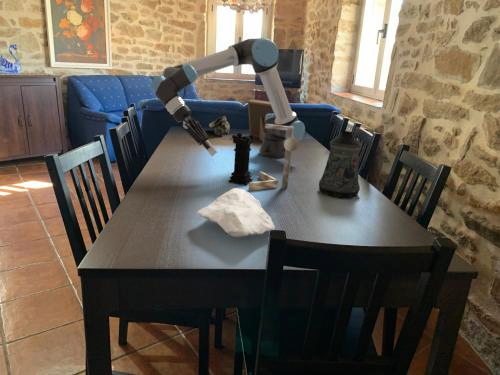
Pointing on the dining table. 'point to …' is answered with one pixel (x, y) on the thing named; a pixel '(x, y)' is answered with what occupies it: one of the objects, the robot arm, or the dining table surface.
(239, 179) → the chess piece
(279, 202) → the dining table surface
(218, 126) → the hollow geode rock
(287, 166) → the centring cradle
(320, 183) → the beer stein
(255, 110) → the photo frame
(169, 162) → the dining table surface
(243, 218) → the white rock
